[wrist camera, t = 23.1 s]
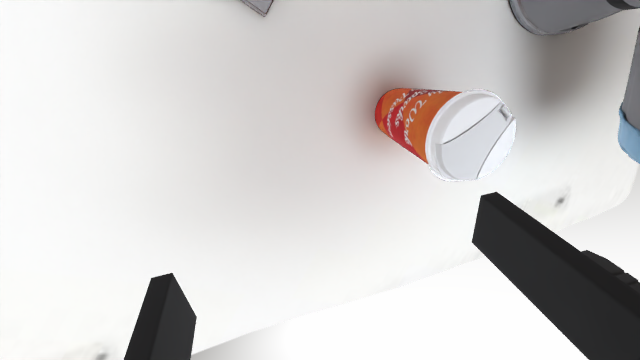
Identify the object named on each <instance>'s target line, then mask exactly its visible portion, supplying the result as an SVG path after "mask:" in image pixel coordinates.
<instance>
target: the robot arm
mask: <svg viewBox="0 0 640 360" xmlns="http://www.w3.org/2000/svg"><path fill="white" fill-rule="evenodd" d="M509 1H510V5H511V8H512V11H513V13H514V15H515V17H516V18H517V20H518V21H519V23H520V24H521V25H522V26H523V27H524V28H526V29H527V30H528V31H530V32H532V33H535V34H539V35H553V34H563V33H567V32H570V31H573V30H576V29H579V28H581V27H583V26H585V25H587V24H588V23H590V22H594V21H597V20H600V19H603V18H605V17H608V16H610V15H613V14H615V13H618V12H620V11H622V10H628V9H636V8H640V0H509ZM619 115H620V125H619V131H618V142H619V145H620V147H621V148H622V150H623V151H624V152H625V153H627V154H628V156H629V157H630V158H631V159H633V160H634V161H636V162H638V163H639V164H640V28H639V31H638V35H637V40H636V45H635V50H634V55H633V59H632V64H631V69H630V74H629V79H628V83H627V87H626V91H625V96H624V100H623V102H622V103H621V106H620V109H619ZM472 243H473V244H474V245H475V246H476V247H477V248H478V249H479V250H480V251H481V252H482V253H483V254H484V255H485V256H486V257H487V258H488V259H489V260H490V261H491V262H492V263H493V264H494V265H495V266H496V267H497V268H498V269H499V270H500V271H501V272H502V273H503V274H504V275H505V276H506V277H507V278H508V279H509V280H510V281H511V282H512V283H513V284H514V285H515V286H516V287H517V288H518V289H519V290H520V291H521V292H522V293H523V294H524V295H525V296H526V297H527V298H528V299H529V300H530V301H531V302H532V303H533V304H534V305H535V306H536V307H537V308H538V309H539V310H540V311H541V312H542V313H543V314H544V315H545V316H546V317H547V318H548V319H549V320H550V321H551V322H552V323H553V324H554V325H555V326H556V327H557V328H558V329H559V330H560V331H561V332H562V333H563V334H564V335H565V336H566V337H567V338H568V339H569V340H570V341H571V342H572V343H573V344H574V345H575V346H576V347H577V348H578V349H579V350H580V351H581V352H582V353H583V354H584V355H585V356H586V357H587V358H588V359H589V360H640V283H639V282H638V280H637V279H636V278H634V277H632V276H631V275H629V274H628V273H624V270H622V269H621V268H619V267H618V266H616V265H615V264H614V263H612V262H611V261H609V260H608V259H606V258H604V257H601V256H599V255H597V254H595V253H592V252H590V251H588V250H586V251H582V252H580V251H579V250H578V249H576V248H575V247H573V246H572V245H571V244H569V243H568V242H566V241H565V240H564V239H562V238H561V237H559V236H558V235H557V234H555V233H554V232H552V231H551V230H549V229H548V228H547V227H545V226H544V225H542V224H541V223H540V222H538V221H537V220H535V219H534V218H533V217H531V216H530V215H528V214H527V213H526V212H524V211H523V210H521V209H520V208H518V207H517V206H516V205H514V204H513V203H511V202H510V201H509V200H507V199H506V198H504V197H503V196H502V195H500V194H499V193H497V192H494V193H490V194H486V195H482V196H481V198H480V203H479V208H478V213H477V218H476V224H475V229H474V234H473V239H472ZM195 324H196V315H195V313H194V311H193V310H192V308H191V306H190V304H189V302H188V301H187V299H186V297H185V295H184V293H183V291H182V290H181V288H180V286H179V284H178V282H177V280H176V279H175V277H174V275H173V273H170V274H166V275H162V276H158V277H154V278H151V281H150V284H149V287H148V289H147V292H146V295H145V298H144V301H143V304H142V307H141V310H140V313H139V316H138V319H137V322H136V325H135V328H134V331H133V334H132V337H131V340H130V343H129V346H128V349H127V352H126V355H125V357H124V360H190V358H191V351H192V345H193V338H194V331H195Z"/></svg>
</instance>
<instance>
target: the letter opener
mask: <svg viewBox="0 0 640 360" xmlns="http://www.w3.org/2000/svg"><path fill="white" fill-rule="evenodd" d="M241 1H243V2H244V3H245V4H247V5H248V6H250V7H251V8H253V9H254V10H255V11H257V12H258V13H260V14H261V15H263V16H264V17H265V16H266V14H267V12H268V10H269V8H270V6H271V4H272V2H273V0H241Z"/></svg>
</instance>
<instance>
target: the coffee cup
mask: <svg viewBox="0 0 640 360" xmlns="http://www.w3.org/2000/svg"><path fill="white" fill-rule="evenodd" d="M511 114H512V113H511V112H510V110H509V109H508V108H507V106H506V105H505V104H504V102H503V101H502V100H501V99H500V98H499V96H497V95H496V94H494V93H493V92H491V91H488V90H483V89H472V90H467V91H465V92H455V91H440V90H425V89H406V88H399V89H393V90H391V91H389V92H387V93H386V94H384V95H383V96H382V97H381V99H380V100H379V102H378V104H377V106H376V110H375V120H376V123H377V125H378V127H379V128H380V130H381V131H382V132H384V133H385V134H386V135H387V136H389V137H390V138H392V139H393V140H394V141H396V142H397V143H399V144H400V145H401V146H403V147H404V148H406V149H407V150H408V151H410V152H411V153H413V154H414V155H416V156H417V157H419V158H420V159H421V160H423V161H424V162H426V163H427V164H429V167H430V171H431V172H432V173H433V174H434V175H435V176H436V177H438V178H439V179H441V180H444V181H465V180H478V179H481V178H483V177H485V176H487V175H489V174H490V173H492V172H493V171H494V170H496V169H497V168H498V167H499V166H500V165H501V163H502V162H503V161H504V160H505V158H506V157H507V155H508V154H509V152H510V150H511V148H512V145H513V142H514V139H515V133H516V122H515V118H514V117H513V116H511Z"/></svg>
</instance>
